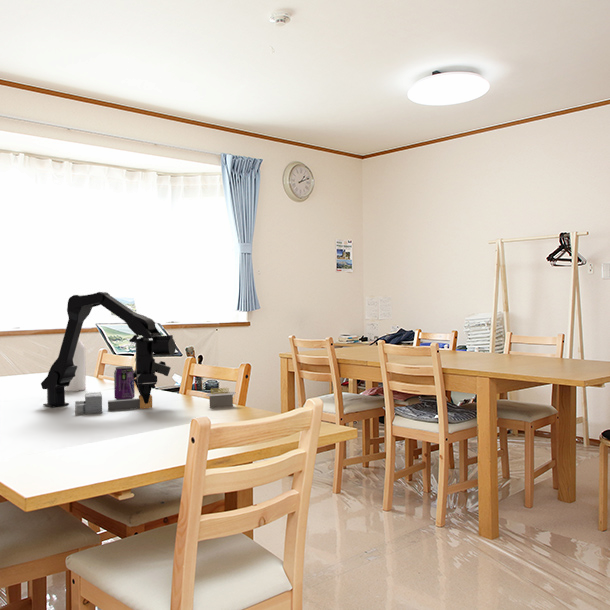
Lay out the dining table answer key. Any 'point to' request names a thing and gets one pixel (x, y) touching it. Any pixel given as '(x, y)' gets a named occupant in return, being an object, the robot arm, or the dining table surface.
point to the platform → (220, 398)
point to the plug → (129, 404)
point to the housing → (89, 404)
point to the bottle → (78, 369)
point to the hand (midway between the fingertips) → (145, 401)
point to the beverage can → (124, 383)
